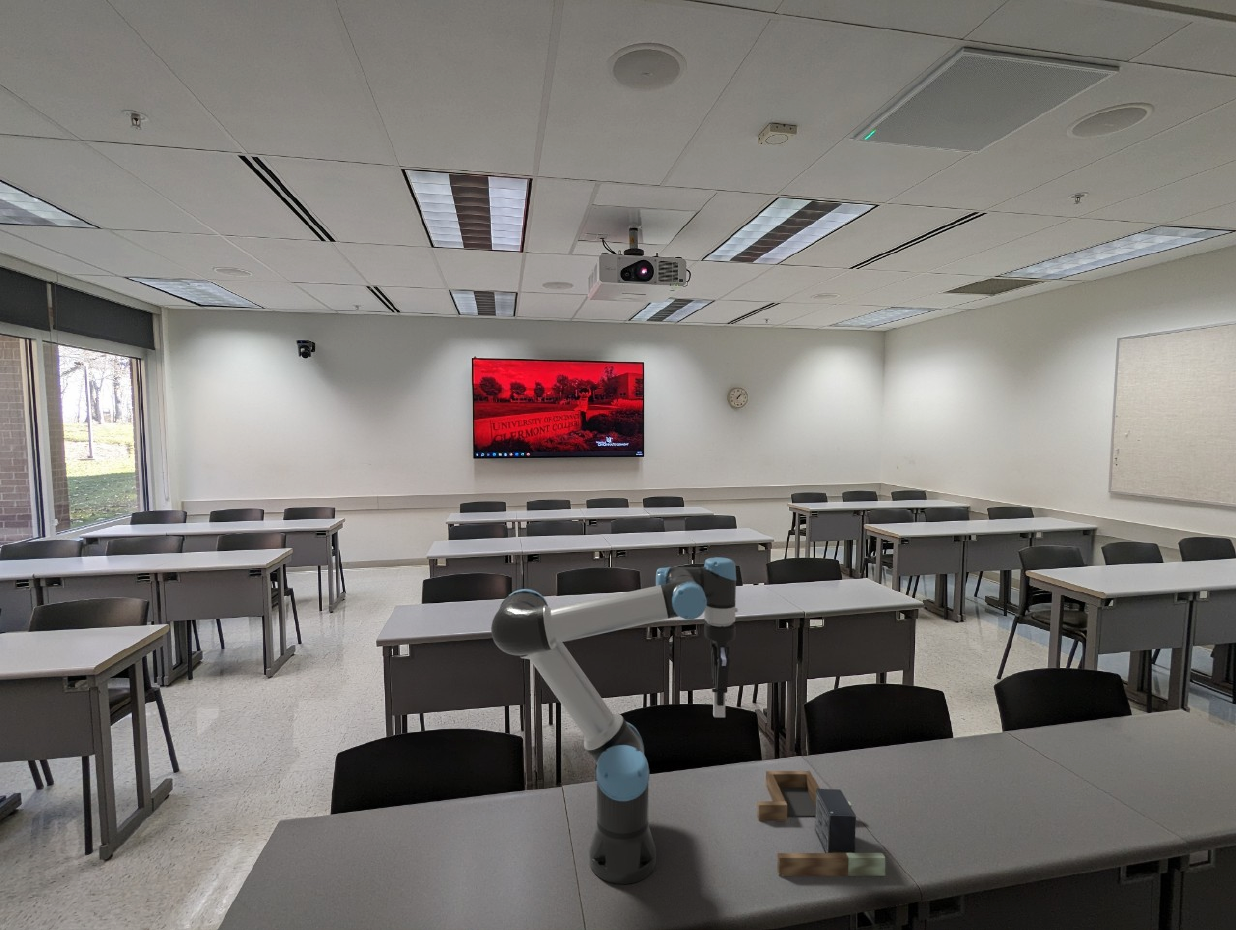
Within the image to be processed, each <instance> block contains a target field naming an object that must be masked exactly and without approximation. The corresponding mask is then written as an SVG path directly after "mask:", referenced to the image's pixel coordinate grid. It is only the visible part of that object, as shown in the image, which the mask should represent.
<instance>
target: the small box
mask: <svg viewBox="0 0 1236 930" xmlns="http://www.w3.org/2000/svg"><path fill="white" fill-rule="evenodd" d="M814 819H815V821H814V831H815V833H816V836H817V838H818V841H819V842H820V844H821V847H822V850H823V853H856V830H857V829H856V827H857V825H856V823H857V821H856V820H857V815H856V814H855V812H854V811H853V807H852V808H851V807H850V805H849V803H848V800H847V798H846V797H845V795H844V793H843V791H842V790H841V789H838V788H835V789H834V788H820V789H818V788H816V815H815V817H814Z"/></svg>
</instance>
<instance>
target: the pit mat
mask: <svg viewBox="0 0 1236 930" xmlns="http://www.w3.org/2000/svg"><path fill="white" fill-rule="evenodd" d="M779 788H780V790H781V793H782V795H783V797H784V799H785V801H786V803H787V818H806V817H807V818H809V817H811V818H812V817H813V818H815V815H816V805H815V803H814V801H813V800H812V798H811V796H810V794H809V792H808V790H807V788H806V787H779Z"/></svg>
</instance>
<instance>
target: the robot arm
mask: <svg viewBox="0 0 1236 930" xmlns="http://www.w3.org/2000/svg"><path fill="white" fill-rule="evenodd" d="M736 572H737V571H736V563H735V561H734V560H733V559H731V558H727V557H718V556H717V557H710V558H706V559H705V561H704V565H703V566H699V567H697V566H695V567H691V566H690V567H679V566H678V567H677V566H675V567H673V566H669V567H659V568H657V570H656V573H655V586H650V587H645V588H641V589H636V590H632V591H628V592H623V593H618V594H614V595H609V596H603V597H598V598H594V599H590V600H585V601H581V602H577V603H571V604H567V605H563V606H562V605H561V606H557V607H553V608H551V607H549V605H548V602H547V601H546V599H545V597H544V596H543V595H542V594H541V593H539V592H538V591H535V590H534V589H529V588H522V589H518V590H515V591H513V592H512V593H510V594H508V596H507V597H506V598H504V599H503V600H502V602H501V604H500V606H499V609H498V610H497V611H496V613H495V615H494V617H493V619H492V622H491V627H490V628H491V629H490V630H491V636H492V637H491V638H492V639H493V642H494V644H495V645H496V646H497V647H498V648H499V649H500V650H501V651H502V652H503V653H506V654H508V655H512V656H519V657H520V658H521V659H527V660H530V662H531V664H533V666H534V667H535V668H536V670H537V672H538V673H539V674H540V676H541V677H542V678H543V680H544V682H545V683H546V685H547V686H548V687H549V688H550V690H551V691H552V692H553V694H554V696H555V697H556V699H557V700H558V701H559V702H560V704H561V705H562V707H563V708H564V710H565V711H566V712H567V714H568V715H569V717H570V718H571V720H572V721H573V722H574V723H575V725H576V726H577V728H578V729H579V730H580V732H581V733H582V735H583V736H584V742H583V747H584V750H586V752H587V753H588V754H589V756H590V757H591V758H592V760H593V761H594V763H595V765H596V768H595V778H596V826H595V830H594V833H593V836H592V839H591V841H590V845H589V848H588V863H589V867H590V869H591V871H593V873H594V874H595V875H596V876H597V877H599V878H600V879H602V880H604V881H605V882H609V883H612V884H617V885H618V884H619V885H626V884H627V885H628V884H634V883H638V882H640V881H642V880H645V879H646V878H647V877H649V876H650V875H651V873H652V872H653V871H654V869H655V867H656V865H657V849H656V845H655V842H654V839H653V836H652V832H651V829H650V827H649V781H650V768H649V763H648V760H647V757H646V756H645V746H644V742H643V739H642V736H641V734H640V732H639V731H638V729H637V728H636V727H635V725H633V724H631V723H630V722H628V721H626V720H625V717H624V716H622V715H621V714H619V713H613V712H612V711H611V709H610V708H609V706H608V705H607V703H606V702H605V701H604V699H603V698H602V697H601V695H600V694H599V692H598V690H596V688H595V686H594V685H593V684H592V682H591V681H590V680H589V678H588V677H587V675H586V674H585V672H584V671H583V670H582V668H581V667H580V666H579V664H578V662H577V661H576V660H575V658H574V657H573V656H572V654H571V653H570V651H569V650H568V648H567V646H565V644H564V642H570V641H574V640H578V639H583V638H587V637H592V636H597V635H601V634H605V633H610V632H615V631H619V630H624V629H628V628H629V629H630V628H632V627H637V626H642V625H646V624H652V623H655V622H661V621H665V620H669V619H670V620H671V619H674V618H682V619H684V620H688V621H689V620H691V621H693V620H696V619H698V618H699V617H701V616H702V615H703V614H704V616H703V617H704V624H703V625H704V627H703V629H704V633H703V635H704V637H705V638H706V639H707V640H709V641H710V643H709V645H710V651H711V652H710V654H711V682H712V683H713V684H712V687H713V688H711V692H712V695H713V699H712V703H713V704H712V705H713V706H712V707H713V709H712V715H713V717H714V718H726V694H727V693H728V682H729V668H730V662H731V660H730V658H729V654H730V647H729V646H728V642H731V641H733V640H735V638H736V623H735V622H736V613H738V611H739V609H738V608H737V607H736V599H737V598H736V593H737V591H736V590H737V589H736V588H737V587H736V586H737V573H736Z"/></svg>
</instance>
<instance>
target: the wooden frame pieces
mask: <svg viewBox="0 0 1236 930" xmlns="http://www.w3.org/2000/svg"><path fill="white" fill-rule="evenodd" d="M818 784H819V783H818V782H817V780H816V779H815V777H814V775H813V774H812V772H811V771H810V770H766V771H765V787H766V788H767V789H766V790H767V791H768V794H769V796H770V798H771V800H770V801H767V800H766V801H762V800H761V801H760V800H759V801H757V815H756V816H757V820H758V821H759V822H764V821H765V822H766V821H767V822H770V821H771V822H773V821H774V822H779V821H780V822H781V821H782V822H785V821H788V817H787V803H786V801H785V799H784V797H783V795H782V793H781V790H780V788H779V787H806V788H807V790H808V792H809V794H810V796H811V798H812V800H813V801H814V803H815V805H816V788H818V789H821V788H820V786H819V785H818ZM847 801H848V800H847ZM848 803H849V805H850V807H851V808H852V809H853V807H852V806H853V805H852V804H851V803H852V802H850V801H848ZM776 868H777V873H778V876H779V877H780V876H782V877H783V876H785V877H787V876H788V877H791V876H793V877H794V876H796V877H798V876H799V877H800V876H801V877H802V876H803V877H804V876H805V877H807V876H810V877H811V876H813V877H814V876H815V877H817V876H818V877H819V876H821V877H827V876H831V877H832V876H834V877H836V876H837V877H838V876H839V877H846V876H853V877H854V876H859V877H860V876H861V877H862V876H864V877H865V876H867V877H868V876H869V877H870V876H873V877H874V876H879V877H880V876H886V857H885V854H884V853H883V852H855V853H825V852H778V853H777V867H776Z"/></svg>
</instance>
